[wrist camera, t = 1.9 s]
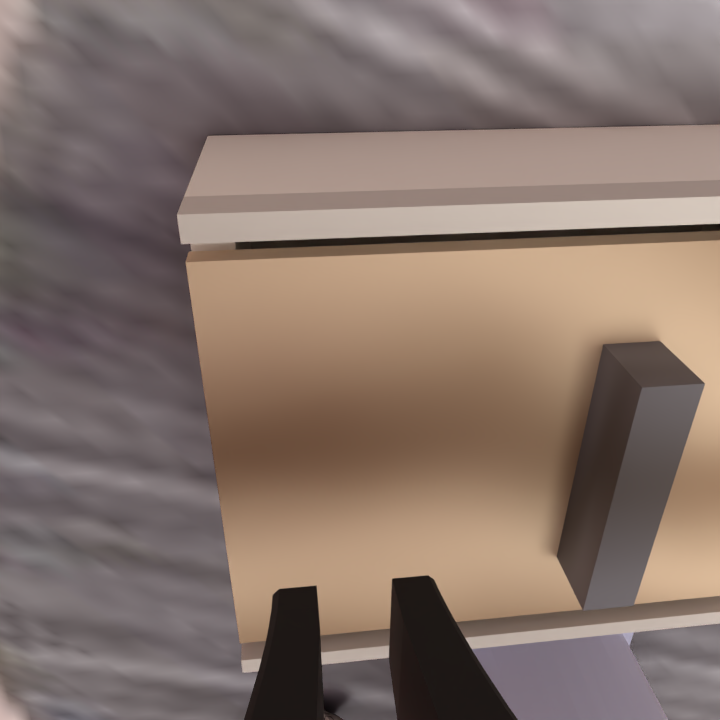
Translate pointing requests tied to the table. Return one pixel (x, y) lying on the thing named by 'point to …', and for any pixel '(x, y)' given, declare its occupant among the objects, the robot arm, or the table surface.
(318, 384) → the lid
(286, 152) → the box
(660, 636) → the table surface
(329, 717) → the wristwatch
